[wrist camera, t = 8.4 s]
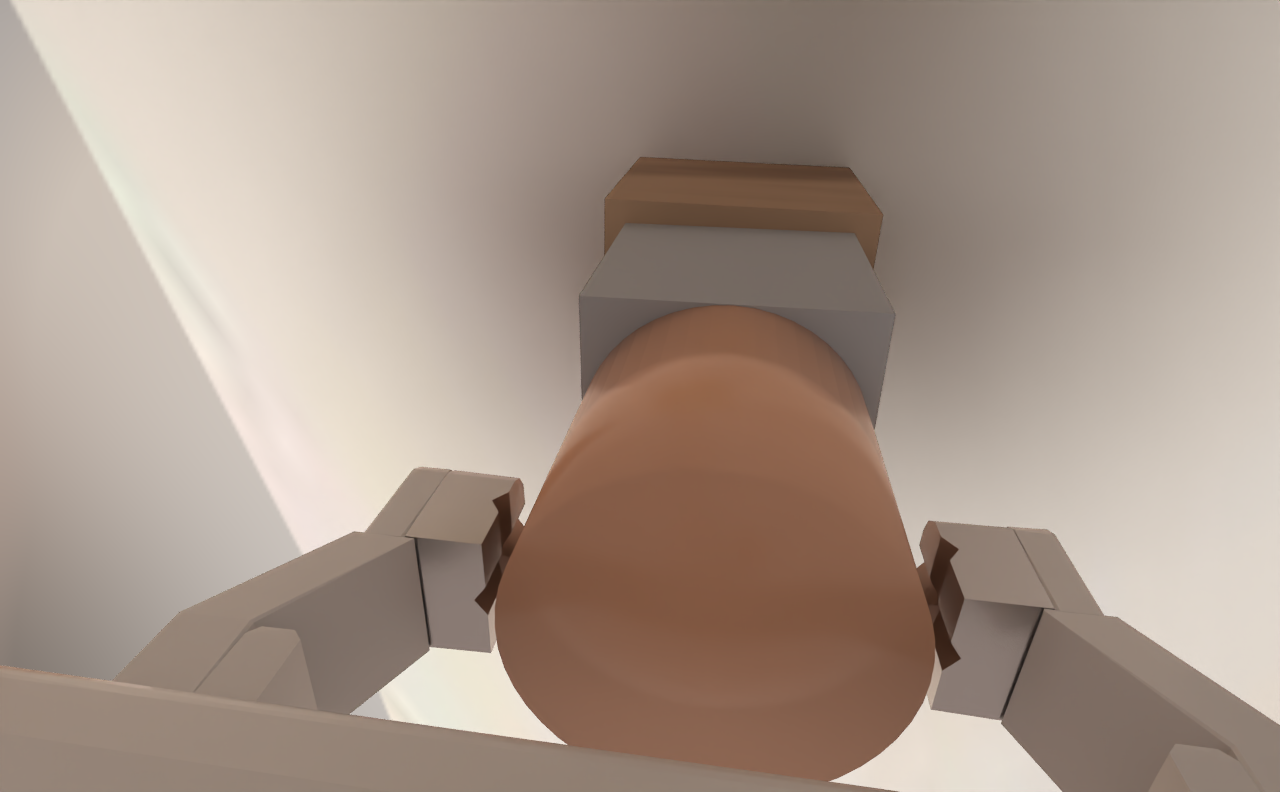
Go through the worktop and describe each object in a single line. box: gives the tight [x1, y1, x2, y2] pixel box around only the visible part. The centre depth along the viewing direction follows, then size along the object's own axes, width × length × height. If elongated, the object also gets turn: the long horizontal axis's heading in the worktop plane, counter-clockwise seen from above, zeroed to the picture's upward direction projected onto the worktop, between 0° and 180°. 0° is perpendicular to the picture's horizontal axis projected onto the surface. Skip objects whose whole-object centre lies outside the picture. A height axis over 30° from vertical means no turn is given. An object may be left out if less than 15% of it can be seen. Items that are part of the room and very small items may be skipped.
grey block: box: [579, 223, 895, 429], centre depth 15 cm, size 5×5×5 cm
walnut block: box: [604, 157, 883, 268], centre depth 20 cm, size 6×6×6 cm
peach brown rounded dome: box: [495, 305, 935, 781], centre depth 11 cm, size 5×5×5 cm
